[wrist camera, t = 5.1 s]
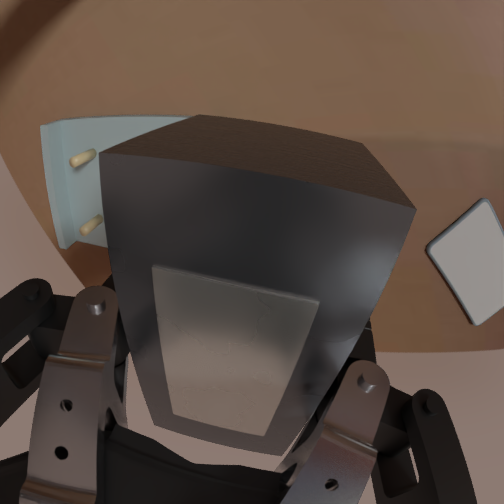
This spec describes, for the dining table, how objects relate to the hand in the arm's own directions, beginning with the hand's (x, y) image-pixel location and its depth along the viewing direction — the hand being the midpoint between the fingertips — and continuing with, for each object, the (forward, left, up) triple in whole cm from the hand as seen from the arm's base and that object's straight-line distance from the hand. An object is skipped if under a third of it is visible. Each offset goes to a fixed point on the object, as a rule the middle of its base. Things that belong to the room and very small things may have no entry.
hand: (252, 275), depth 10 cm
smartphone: (+6, +23, -16) cm, 28 cm away
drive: (0, 0, -1) cm, 1 cm away
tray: (+4, -14, -15) cm, 21 cm away
